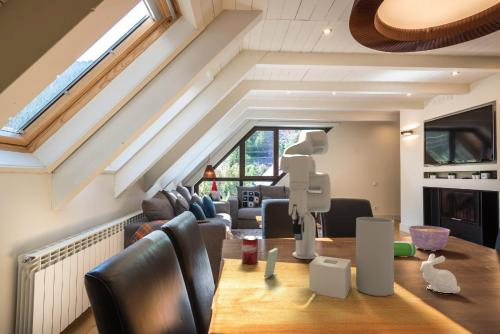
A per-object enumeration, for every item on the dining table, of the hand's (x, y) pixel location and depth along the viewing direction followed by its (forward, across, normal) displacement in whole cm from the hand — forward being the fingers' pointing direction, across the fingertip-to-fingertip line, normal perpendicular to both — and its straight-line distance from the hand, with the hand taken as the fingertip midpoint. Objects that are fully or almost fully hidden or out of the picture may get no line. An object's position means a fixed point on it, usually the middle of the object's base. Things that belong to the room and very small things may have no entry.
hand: (298, 232), depth 127 cm
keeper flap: (+17, +7, -10) cm, 21 cm away
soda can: (+18, -7, -25) cm, 32 cm away
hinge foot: (+18, +7, -9) cm, 21 cm away
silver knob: (+3, 0, 0) cm, 3 cm away
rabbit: (+18, -10, +48) cm, 52 cm away
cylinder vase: (+18, +1, +28) cm, 33 cm away
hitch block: (+18, +8, +14) cm, 24 cm away
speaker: (+19, -55, +33) cm, 67 cm away
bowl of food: (+20, -79, +49) cm, 95 cm away
